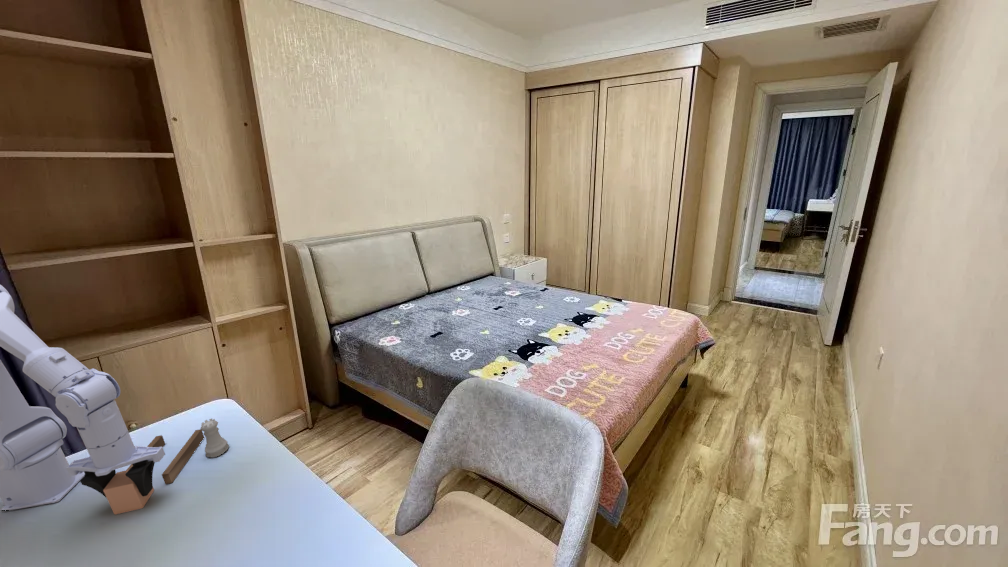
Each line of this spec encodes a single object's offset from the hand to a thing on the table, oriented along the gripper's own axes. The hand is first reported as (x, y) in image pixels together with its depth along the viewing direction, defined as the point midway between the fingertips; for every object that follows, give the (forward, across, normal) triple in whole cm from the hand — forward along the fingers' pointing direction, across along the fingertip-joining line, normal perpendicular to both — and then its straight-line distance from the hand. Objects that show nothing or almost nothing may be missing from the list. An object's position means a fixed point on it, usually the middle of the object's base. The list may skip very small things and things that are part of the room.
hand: (132, 494), depth 78 cm
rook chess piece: (+2, +10, +12) cm, 15 cm away
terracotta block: (+2, 0, 0) cm, 2 cm away
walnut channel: (+2, 0, +10) cm, 11 cm away
